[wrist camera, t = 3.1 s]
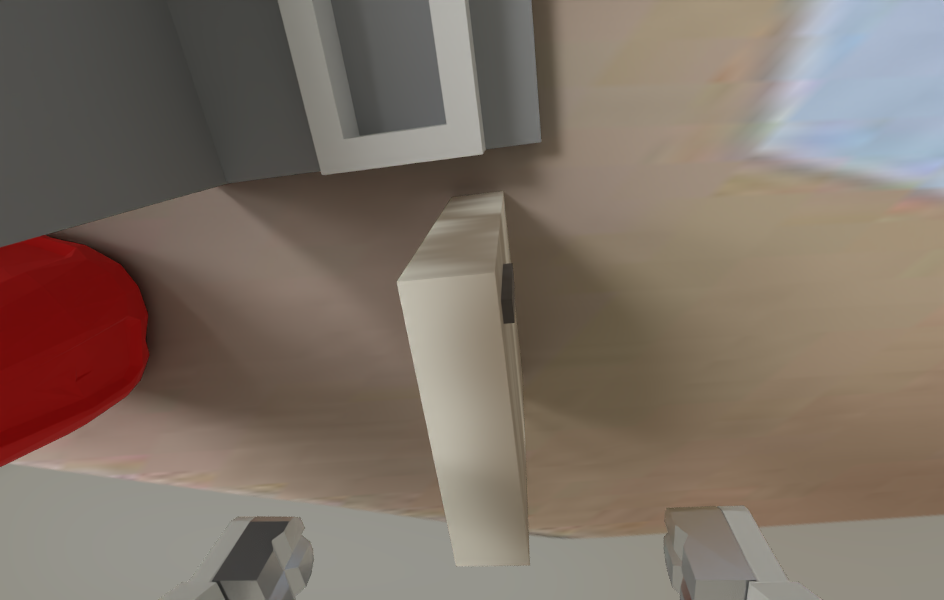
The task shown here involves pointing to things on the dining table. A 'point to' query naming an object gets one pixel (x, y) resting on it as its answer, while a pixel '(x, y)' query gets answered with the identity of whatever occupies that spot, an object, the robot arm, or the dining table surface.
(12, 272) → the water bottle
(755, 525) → the robot arm
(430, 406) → the door panel
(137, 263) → the dining table surface
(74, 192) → the grey tablet stand
